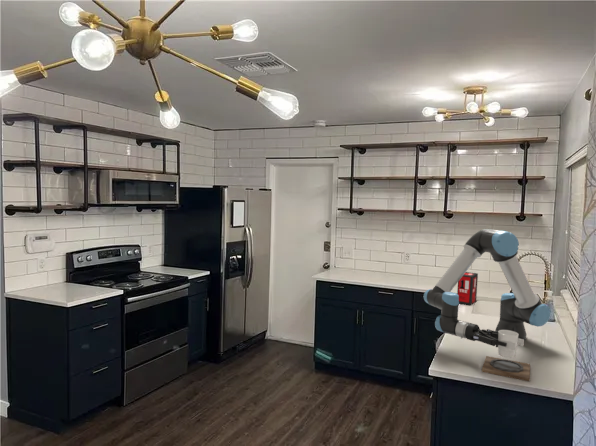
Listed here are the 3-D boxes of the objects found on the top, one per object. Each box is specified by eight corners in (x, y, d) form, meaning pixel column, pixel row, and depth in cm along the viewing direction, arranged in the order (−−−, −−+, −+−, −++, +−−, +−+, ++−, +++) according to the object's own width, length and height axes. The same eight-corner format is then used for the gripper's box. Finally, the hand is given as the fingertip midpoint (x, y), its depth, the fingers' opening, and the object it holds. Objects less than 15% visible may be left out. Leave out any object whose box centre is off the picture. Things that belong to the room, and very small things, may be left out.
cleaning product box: (470, 305, 303) (471, 276, 301) (456, 303, 308) (458, 275, 306) (476, 301, 316) (477, 273, 315) (463, 299, 321) (464, 271, 320)
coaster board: (486, 358, 205) (486, 354, 205) (530, 366, 197) (530, 362, 197) (481, 371, 189) (482, 367, 189) (529, 381, 181) (529, 376, 181)
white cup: (511, 352, 197) (512, 330, 196) (520, 358, 189) (522, 335, 188) (493, 351, 196) (495, 329, 196) (502, 358, 188) (503, 335, 188)
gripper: (478, 334, 213) (528, 348, 196) (456, 343, 199) (508, 358, 182) (479, 319, 212) (529, 331, 195) (457, 326, 198) (509, 340, 181)
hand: (519, 344), depth 188 cm, fingers closed on white cup, 8 cm apart
